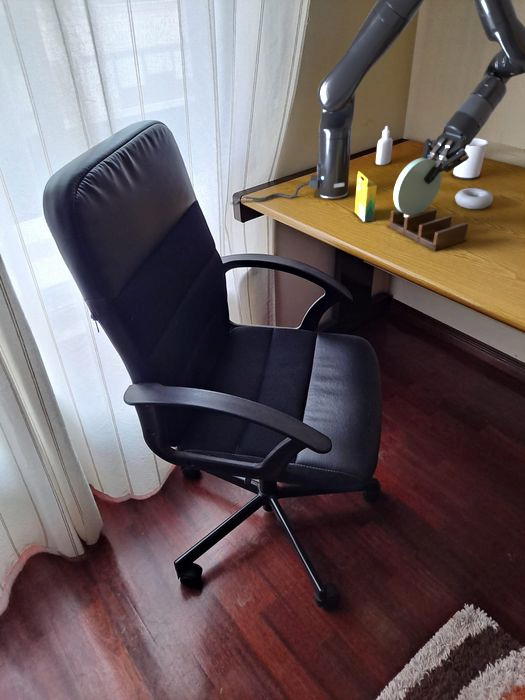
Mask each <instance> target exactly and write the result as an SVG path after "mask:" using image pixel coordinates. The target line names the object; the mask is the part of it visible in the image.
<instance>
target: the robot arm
mask: <svg viewBox="0 0 525 700" xmlns="http://www.w3.org/2000/svg"><path fill="white" fill-rule="evenodd" d="M472 2H473V5H474V8H475V11H476V14H477V17H478V19H479V22H480V25H481V27H482V30H483V32H484V34H485V37H486V39H487V41H489V42H493V43H498V45H499V46H500V49H499V50H498V51H496V53H495V55H493V57H492V58H491V59H490V61H489V63H488V65H487V67H486V69H485V70H484V72H483V74H482V76H481V78H480V81H479V82H478V83H477V85H476V86H475V87H474V89H473V90H472V91H471V92H470V94H469V95H468V96H467V97H466V98H465V99H464V101H462V103H461V104H460V105H459V107H458V108H457V110H455V112H454V113H453V115H452V116H451V117H450V119H449V120H448V121H447V122H448V123H447V124H446V125H444V127H443V131H442V133H441V134H440V135H438V136H437V137H436V138H435V139H432V140H431V139H430V138H426V140H425V141H424V144H423V145H424V146H423V150H422V154H421V158H428V159H431V160H433V161H435V162H436V164H435V167H432V168H431V170H430V171H429V172H428V174H427V175H426V176H425V178H424V181H425V182H426V183H427V184H430V183H431V182H433V181H434V179H435V178H436V177H437V175H438V174H439V173H440V172H441V173H443V172H445V173H449V172H451V171H453V170H454V168H455V167H457V166H458V165H460V164H461V163H463V162H464V161H466V160H467V159H468V158H469V156H468V154H467V153H466V151H465V149H466V146H467V145H469V144H470V143H471V142H472V140H473V139H474V138H476V137H477V135H478V134H479V133H480V131H481V130H482V128H483V127H484V126H485V124H486V123H487V122H488V121H489V119H490V117H491V116H492V114H493V113H494V111H495V110H496V109H497V107H498V106H499V105H500V104H501V102H502V101H503V99H504V98H505V96H506V94H507V91H508V89H507V84H508V82H510V80H511V79H512V78H514V77H517V76H520V75H524V74H525V25H524V23H522V22H521V20H520V19H519V17H518V14H517V11H516V8H515V6H514V3H513V1H512V0H472ZM423 3H425V0H377V1H376V2H375V4H374V5H373V7H372V8H371V10H370V11H369V13H368V14H367V16H366V18H365V19H364V20H363V22H362V24H361V25H360V27H359V29H358V31H357V32H356V34H355V36H354V38H353V39H352V41H351V43H350V45H349V47H348V48H347V50H346V51H345V53H344V54H343V56H342V57H340V60H338V62H337V63H336V64H335V65H334V67H333V68H332V69H331V70H330V71H329V72H328V73H327V75H326V76H325V77H323V79H322V80H321V81H320V83H319V85H318V88H317V102H318V104H319V106H320V107H321V111H320V112H321V113H320V120H319V125H318V149H317V150H318V153H317V157H318V158H317V165H316V174H311V176H310V178H309V181H305V182H303V183H301V184H300V185H298V186H297V187H296V189H295V191H294V193H293V194H291V195H290V194H289V195H288V194H285V193H282V192H276V193H271V194H269V195H267V196H265V197H252V196H242V197H243V198H246V199H253V200H252V201H255V202H261V201H267V200H270V199H271V198H274V197H283V198H286V199H293V198H295V197H296V196H297V195H298V192H299V191H300V189H302V188H303V187H305V186H308V185H309V189H312V190H316V198H322V199H326V200H339V199H340V200H341V199H343V198H346V197H347V196H349V181H350V165H351V164H350V162H351V148H352V147H351V146H352V131H353V124H354V117H355V103H356V91H357V89H358V88H359V86H360V84H361V83H362V81H363V80H364V78H365V77H366V75H367V74H368V72H370V70H371V69H372V67H373V66H375V64H376V63H377V62H378V61H379V60H380V59H381V58H382V57H383V56H384V55H385V54H386V53H387V51H388V50H389V49H390V48H391V47H392V46H393V44H395V42H396V41H397V40H398V39H399V37H400V36H401V35H402V34H403V32H404V31H405V30H406V28H407V27H408V25H410V22H412V20H413V19H414V17H416V14H417V13H418V12H419V10H420V8H421V7H422V5H423ZM242 197H240V198H241V199H243V198H242ZM240 198H238V199H236V200H235V202H234V204H235V205H238V204H239V203H240V202H241V201H243V200H240Z"/></svg>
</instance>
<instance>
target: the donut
mask: <svg viewBox="0 0 525 700" xmlns="http://www.w3.org/2000/svg"><path fill="white" fill-rule="evenodd" d="M454 199H455V203H456V204H457V205H458V206H460V207H462V208H465V209H469V210H482V209H486V208H488V207H490V206H491V205H492V203H493V201H494V197H493V194H492V193H491V192H490V191H488V190H487V189H483V188H477V187H468V188H463V189H460V190H459V191H457V193H456V194H455V196H454Z"/></svg>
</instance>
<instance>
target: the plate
mask: <svg viewBox="0 0 525 700" xmlns="http://www.w3.org/2000/svg"><path fill="white" fill-rule="evenodd" d="M435 164H436V162H435V161H433V159H432V160H431V159H428V158H422V157H419V158H416V159H413V160H412V161H410V162H409V163H408V164H407V165H406V166H405V167H404V168H403V169H402V171H401V172H400V174H399V176H398V177H397V180H396V182H395V185H394V188H393V193H392V194H393V196H392V197H393V199H392V200H393V203H394V206H395V208H396V209H397V210H398V211H400V212H401V213H403V214H404V217H405V218H406V217H409V216H412V215H415V214H419V213H422V212H425V211H426V209H428V208H429V207H430V205H432V203H433V201H434V200H435V198H436V197H437V195H438V193H439V190H440V187H441V183H442V172H440V173H439V174H438V175H437V177H436V178H435V179H434V181H433V182H431V183H430V184H427V183H426V182H425V181H424V178H425V176H426V175H427V174H428V172H429V171H430V170H431V168H432V167H435Z"/></svg>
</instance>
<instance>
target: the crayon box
mask: <svg viewBox="0 0 525 700" xmlns="http://www.w3.org/2000/svg"><path fill="white" fill-rule="evenodd" d="M356 177H357V178H356V188H355V189H356V190H355V205H354V213H355V214H356V215H357V216H358V217H359V218H360V219H361V221H362V222H363V223H366V222H372V221H374V218H375V210H376V209H375V208H376V199H377V188H378V185H377V184H376V183H374V182H373V181H372V180H371V179H370V178H368V177H367V176H365V175H364V174H363V173H362V172H361V171H360V170H358V172H357V176H356Z"/></svg>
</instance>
